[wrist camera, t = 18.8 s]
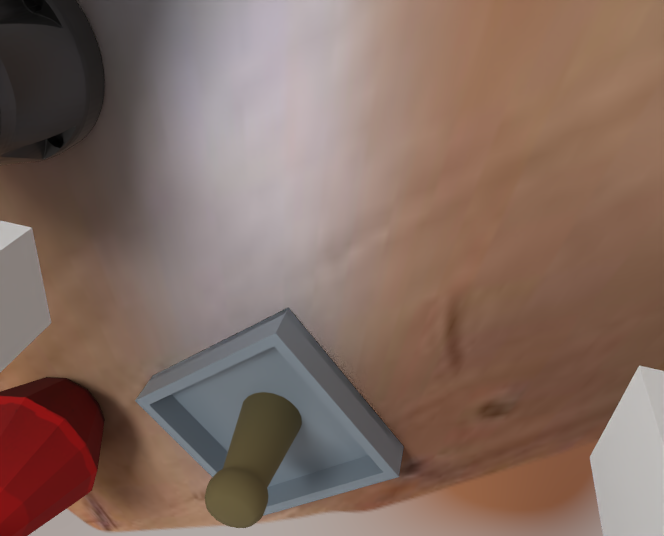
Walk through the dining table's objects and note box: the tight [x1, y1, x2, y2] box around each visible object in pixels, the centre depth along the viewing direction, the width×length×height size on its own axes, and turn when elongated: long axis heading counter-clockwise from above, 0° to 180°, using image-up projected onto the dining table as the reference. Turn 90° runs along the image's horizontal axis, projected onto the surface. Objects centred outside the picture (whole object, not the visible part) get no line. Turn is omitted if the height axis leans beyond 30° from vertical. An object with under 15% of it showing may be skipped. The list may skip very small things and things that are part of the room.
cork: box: [205, 392, 302, 528], centre depth 52 cm, size 6×6×11 cm
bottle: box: [0, 377, 105, 536], centre depth 56 cm, size 16×14×20 cm
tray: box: [135, 308, 404, 516], centre depth 55 cm, size 18×18×4 cm
